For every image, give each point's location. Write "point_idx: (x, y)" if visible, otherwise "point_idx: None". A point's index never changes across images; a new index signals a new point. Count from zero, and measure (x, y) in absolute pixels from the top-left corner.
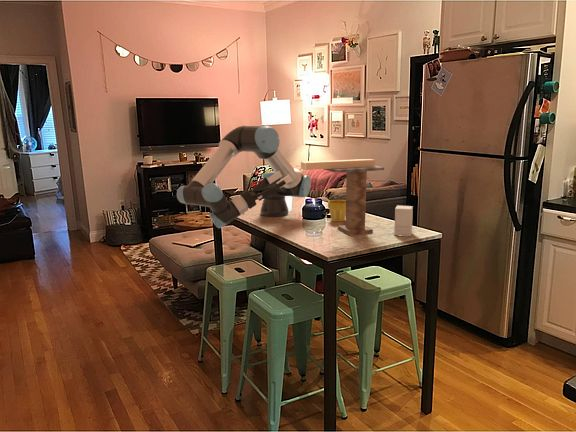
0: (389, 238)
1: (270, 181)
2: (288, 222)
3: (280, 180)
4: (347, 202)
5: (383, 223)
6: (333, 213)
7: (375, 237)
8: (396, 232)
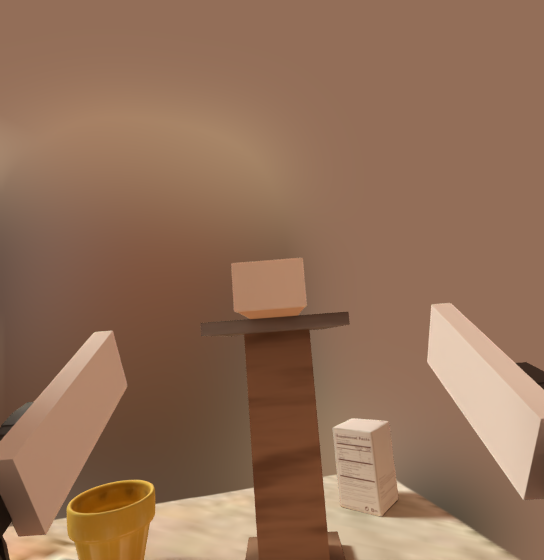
0: (413, 530)
1: (49, 489)
2: None
3: (514, 368)
4: (266, 466)
5: (240, 505)
6: (118, 555)
7: (398, 552)
8: (382, 503)
